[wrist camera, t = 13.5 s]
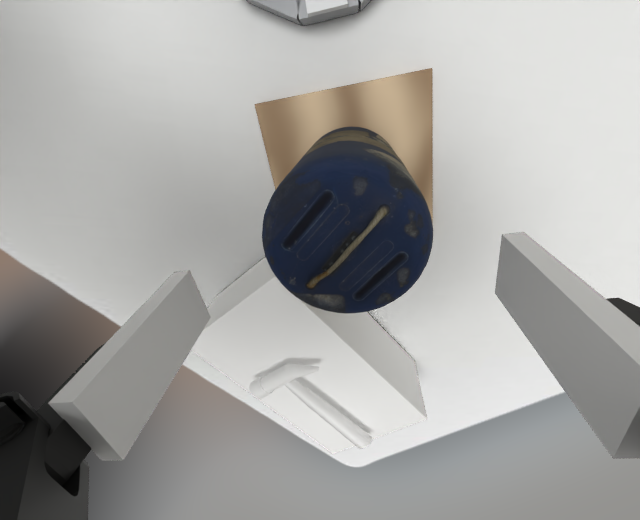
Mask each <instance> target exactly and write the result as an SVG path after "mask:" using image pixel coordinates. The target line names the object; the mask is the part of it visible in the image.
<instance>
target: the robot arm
mask: <svg viewBox="0 0 640 520" xmlns="http://www.w3.org/2000/svg"><path fill="white" fill-rule="evenodd" d="M495 294H496V295H497V297H498V298H499V299H500V301H501V302H502V304H503V305H504V306H505V308H506V309H507V311H508V312H509V313H510V315H511V316H512V318H513V319H514V320H515V322H516V323H517V325H518V326H519V327H520V329H521V330H522V332H523V333H524V334H525V336H526V337H527V339H528V340H529V342H530V343H531V344H532V346H533V347H534V349H535V350H536V351H537V353H538V354H539V356H540V357H541V358H542V360H543V361H544V363H545V364H546V365H547V367H548V368H549V370H550V371H551V372H552V374H553V375H554V377H555V378H556V379H557V381H558V382H559V384H560V385H561V386H562V388H563V389H564V391H565V392H566V393H567V395H568V396H569V398H570V399H571V400H572V402H573V403H574V404H575V406H576V407H577V409H578V410H579V411H580V413H581V414H582V416H583V417H584V419H585V420H586V421H587V422H588V424H589V425H590V427H591V428H592V430H593V431H594V432H595V434H596V435H597V437H598V438H599V440H600V441H601V442H602V444H603V445H604V447H605V448H606V449H607V450H608V452H609V454H610V455H611V456H612V458H640V307H638V306H635V305H633V304H631V303H629V302H627V301H625V300H622V299H620V298H610V299H605V298H604V297H603V296H602V295H600V294H599V293H598V292H597V291H596V290H594V289H593V288H592V287H591V286H589V285H588V284H587V283H586V282H584V281H583V280H582V279H581V278H580V277H578V276H577V275H576V274H575V273H573V272H572V271H571V270H570V269H569V268H567V267H566V266H565V265H564V264H562V263H561V262H560V261H559V260H558V259H556V258H555V257H554V256H553V255H551V254H550V253H549V252H548V251H547V250H545V249H544V248H543V247H542V246H540V245H539V244H538V243H537V242H536V241H534V240H533V239H532V238H531V237H529V236H528V235H527V234H526V233H525V232H519V233H510V234H502V239H501V247H500V256H499V264H498V272H497V280H496V288H495ZM210 318H211V317H210V315H209V312H208V310H207V308H206V306H205V303H204V301H203V299H202V297H201V294H200V292H199V290H198V288H197V285H196V283H195V281H194V279H193V276H192V274H191V272H190V270H188V271H179V272H174V273H173V274H172V275H171V276H170V277H169V278H168V279H167V280H166V281H165V282H164V283H163V284H162V285H161V287H160V288H159V289H158V290H157V291H156V292H155V293H154V294H153V295H152V296H151V297H150V298H149V299H148V300H147V301H146V302H145V303H144V304H143V305H142V306H141V307H140V308H139V309H138V310H137V311H136V312H135V313H134V315H133V316H132V317H131V318H130V319H129V320H128V321H127V322H126V323H125V324H124V325H123V326H122V327H121V328H120V329H119V330H118V331H117V332H116V333H115V334H114V335H113V336H112V337H111V338H110V339H109V341H107V342H106V343H105V344H103V345H102V346H101V347H99V348H98V349H97V350H96V351H95V352H94V353H93V354H92V355H91V356H90V357H89V358H88V359H87V360H86V361H85V363H83V364H82V365H81V366H80V367H79V368H78V369H77V370H76V373H73V374H72V375H71V376H70V377H69V378H68V379H67V380H66V381H65V382H64V383H63V384H62V386H60V387H59V388H58V389H57V391H56V392H55V393H54V394H53V395H52V396H51V397H50V398H49V399H48V400H47V401H46V402H45V403H44V404H43V405H42V406H41V407H40V408H39V409H38V410H37V411H36V410H35V409H34V408H33V407H32V406H31V405H30V404H29V403H28V402H27V401H26V400H25V399H24V398H23V397H22V396H21V395H20V394H19V393H17V392H8V393H4V394H1V395H0V520H88V491H89V490H88V489H89V466H88V463H87V462H86V461H85V460H84V458H85V457H86V456H87V454H88V453H89V452H90V450H92V451H94V453H95V454H96V455H97V456H98V457H99V458H100V459H101V460H124V458H125V457H126V455H127V453H128V452H129V450H130V448H131V447H132V445H133V444H134V442H135V440H136V439H137V437H138V435H139V434H140V432H141V431H142V429H143V427H144V426H145V424H146V422H147V421H148V419H149V417H150V416H151V414H152V413H153V411H154V409H155V408H156V406H157V404H158V403H159V401H160V399H161V398H162V396H163V394H164V393H165V391H166V390H167V388H168V386H169V385H170V383H171V382H172V380H173V378H174V377H175V375H176V373H177V372H178V370H179V368H180V367H181V365H182V364H183V362H184V360H185V359H186V357H187V355H188V354H189V352H190V351H191V349H192V347H193V346H194V344H195V342H196V341H197V339H198V337H199V336H200V334H201V333H202V331H203V329H204V328H205V326H206V324H207V323H208V321H209V319H210Z"/></svg>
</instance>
